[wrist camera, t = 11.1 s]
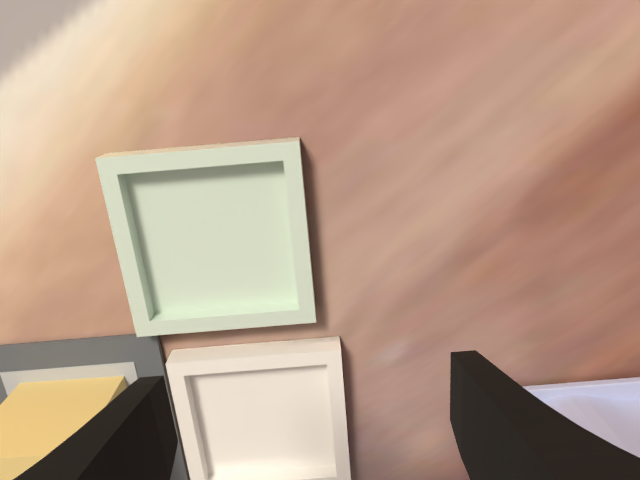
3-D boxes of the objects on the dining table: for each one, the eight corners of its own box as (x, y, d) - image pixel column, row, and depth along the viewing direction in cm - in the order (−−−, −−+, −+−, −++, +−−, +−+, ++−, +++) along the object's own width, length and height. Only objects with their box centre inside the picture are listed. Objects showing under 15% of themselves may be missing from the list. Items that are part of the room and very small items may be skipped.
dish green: (299, 136, 21) (298, 141, 20) (315, 309, 23) (316, 322, 22) (106, 153, 21) (95, 158, 20) (145, 323, 23) (137, 337, 22)
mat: (157, 332, 24) (155, 336, 23) (190, 480, 27) (188, 485, 26) (-32, 347, 24) (-37, 351, 23) (22, 493, 27) (18, 499, 26)
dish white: (339, 336, 24) (340, 349, 23) (349, 468, 27) (351, 486, 25) (172, 349, 24) (165, 364, 23) (199, 479, 27) (194, 498, 25)
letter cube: (124, 376, 24) (77, 454, 19) (143, 458, 26) (105, 549, 21) (20, 382, 24) (-52, 462, 19) (46, 465, 26) (-15, 557, 21)
